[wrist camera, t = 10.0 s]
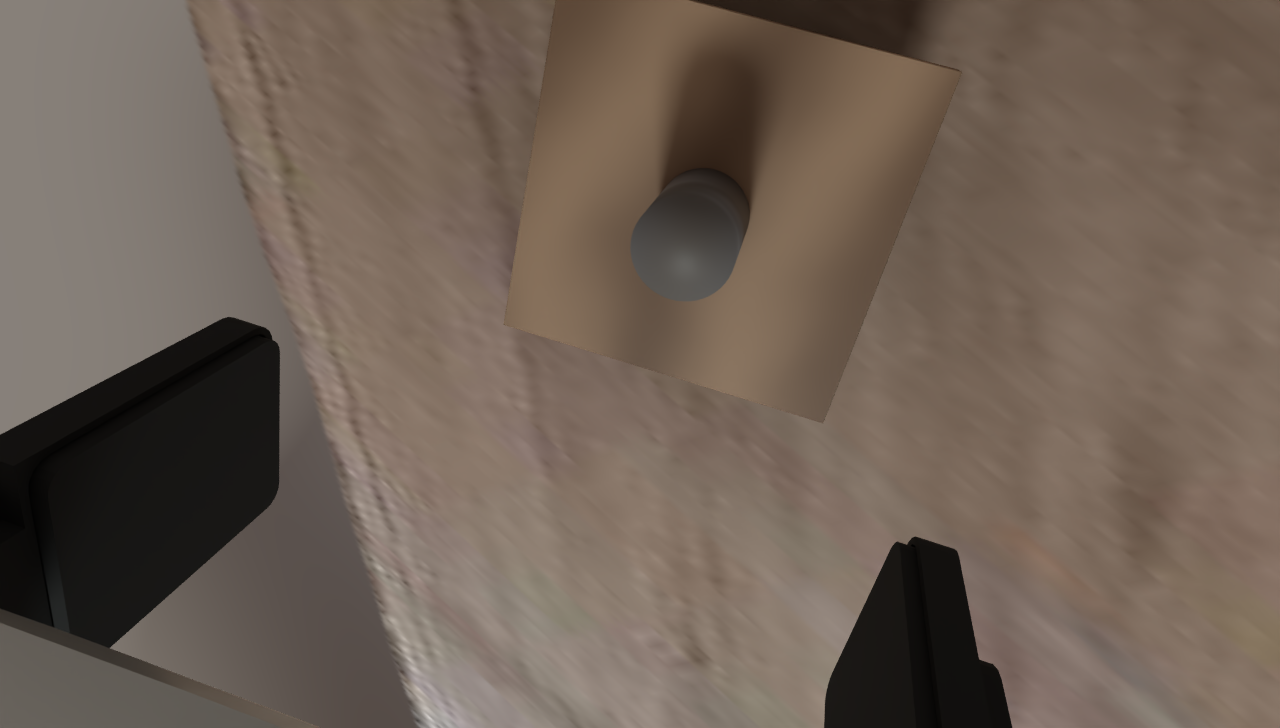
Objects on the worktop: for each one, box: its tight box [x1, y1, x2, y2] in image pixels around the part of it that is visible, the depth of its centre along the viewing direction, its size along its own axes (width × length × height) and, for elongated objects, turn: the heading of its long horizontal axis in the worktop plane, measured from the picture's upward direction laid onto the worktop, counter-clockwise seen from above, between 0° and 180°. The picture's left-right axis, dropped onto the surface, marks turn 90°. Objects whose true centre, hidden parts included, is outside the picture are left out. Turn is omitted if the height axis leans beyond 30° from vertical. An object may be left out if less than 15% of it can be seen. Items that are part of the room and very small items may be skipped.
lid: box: [504, 0, 962, 423], centre depth 24 cm, size 12×12×5 cm
